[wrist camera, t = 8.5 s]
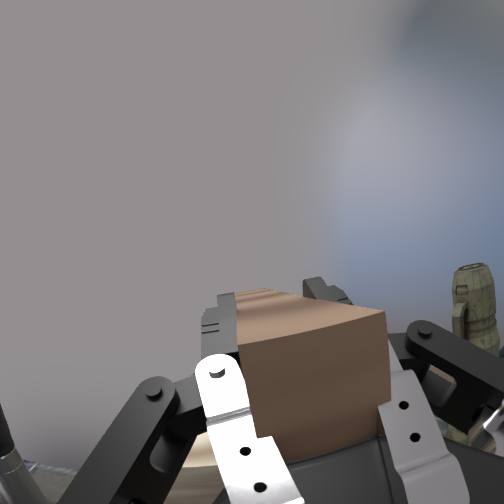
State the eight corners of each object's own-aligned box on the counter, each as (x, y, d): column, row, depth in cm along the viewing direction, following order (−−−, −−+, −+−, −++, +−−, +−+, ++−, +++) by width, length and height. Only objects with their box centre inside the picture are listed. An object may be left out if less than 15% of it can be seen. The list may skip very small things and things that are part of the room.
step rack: (218, 516, 31) (164, 354, 34) (311, 501, 32) (285, 334, 35) (215, 581, 15) (119, 400, 18) (337, 562, 16) (323, 370, 19)
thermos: (430, 461, 32) (431, 276, 35) (462, 428, 36) (462, 263, 39) (465, 473, 24) (481, 269, 27) (495, 436, 28) (503, 256, 31)
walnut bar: (240, 322, 29) (235, 293, 29) (269, 317, 29) (264, 288, 29) (263, 469, 5) (237, 344, 5) (391, 431, 5) (384, 311, 5)
